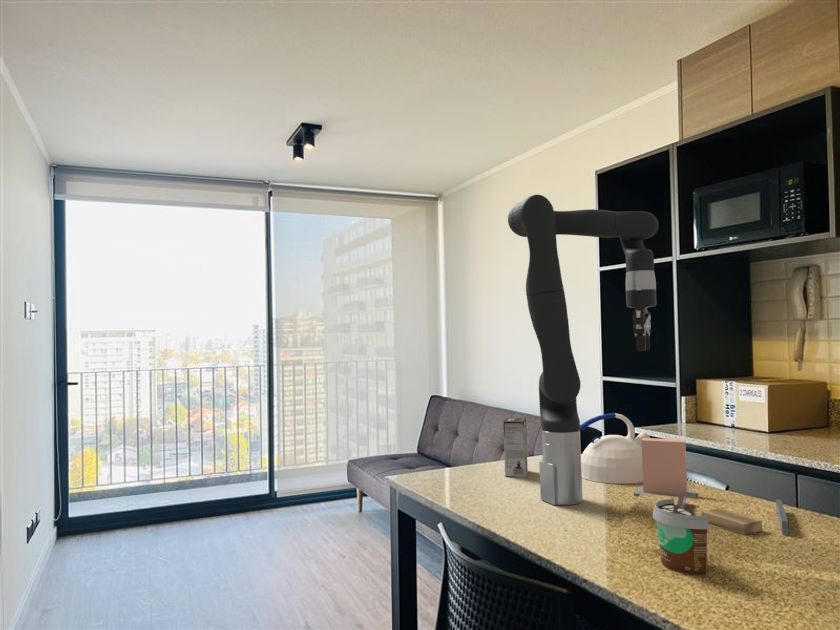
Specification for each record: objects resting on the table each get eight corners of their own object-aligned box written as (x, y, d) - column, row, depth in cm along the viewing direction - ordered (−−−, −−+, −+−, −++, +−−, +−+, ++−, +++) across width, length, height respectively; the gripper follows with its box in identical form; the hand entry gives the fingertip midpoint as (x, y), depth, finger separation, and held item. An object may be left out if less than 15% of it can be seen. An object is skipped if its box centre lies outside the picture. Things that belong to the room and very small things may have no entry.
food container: (642, 554, 114) (640, 499, 114) (674, 552, 114) (672, 497, 115) (675, 580, 102) (672, 518, 102) (711, 578, 102) (708, 516, 103)
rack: (788, 542, 118) (787, 521, 118) (675, 530, 127) (674, 510, 127) (782, 518, 134) (781, 499, 134) (681, 509, 143) (680, 491, 143)
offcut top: (744, 534, 119) (743, 524, 119) (701, 521, 128) (701, 511, 128) (762, 530, 121) (761, 520, 121) (719, 517, 130) (719, 508, 130)
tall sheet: (686, 495, 152) (684, 442, 153) (643, 492, 157) (641, 440, 157) (687, 491, 156) (685, 439, 156) (645, 488, 160) (643, 437, 161)
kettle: (665, 483, 168) (662, 416, 169) (588, 485, 168) (586, 418, 169) (639, 468, 188) (637, 408, 189) (571, 469, 188) (569, 410, 189)
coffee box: (506, 470, 189) (505, 417, 190) (528, 470, 188) (526, 417, 189) (504, 476, 180) (503, 421, 181) (527, 477, 179) (525, 421, 180)
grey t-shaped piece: (694, 500, 149) (694, 498, 149) (633, 495, 156) (633, 493, 156) (696, 493, 157) (696, 490, 157) (638, 488, 163) (637, 486, 163)
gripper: (629, 291, 172) (632, 350, 171) (621, 288, 159) (624, 351, 158) (658, 289, 169) (661, 349, 168) (652, 286, 156) (655, 351, 155)
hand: (643, 350), depth 163 cm, fingers open, 8 cm apart
